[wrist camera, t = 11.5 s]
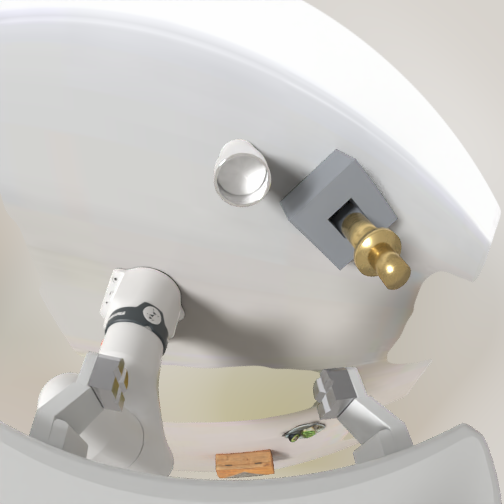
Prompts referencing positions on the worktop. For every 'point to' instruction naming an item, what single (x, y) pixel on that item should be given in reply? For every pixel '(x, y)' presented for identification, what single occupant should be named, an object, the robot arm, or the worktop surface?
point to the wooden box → (244, 464)
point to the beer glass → (241, 174)
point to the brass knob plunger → (376, 251)
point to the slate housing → (335, 205)
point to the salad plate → (303, 431)
